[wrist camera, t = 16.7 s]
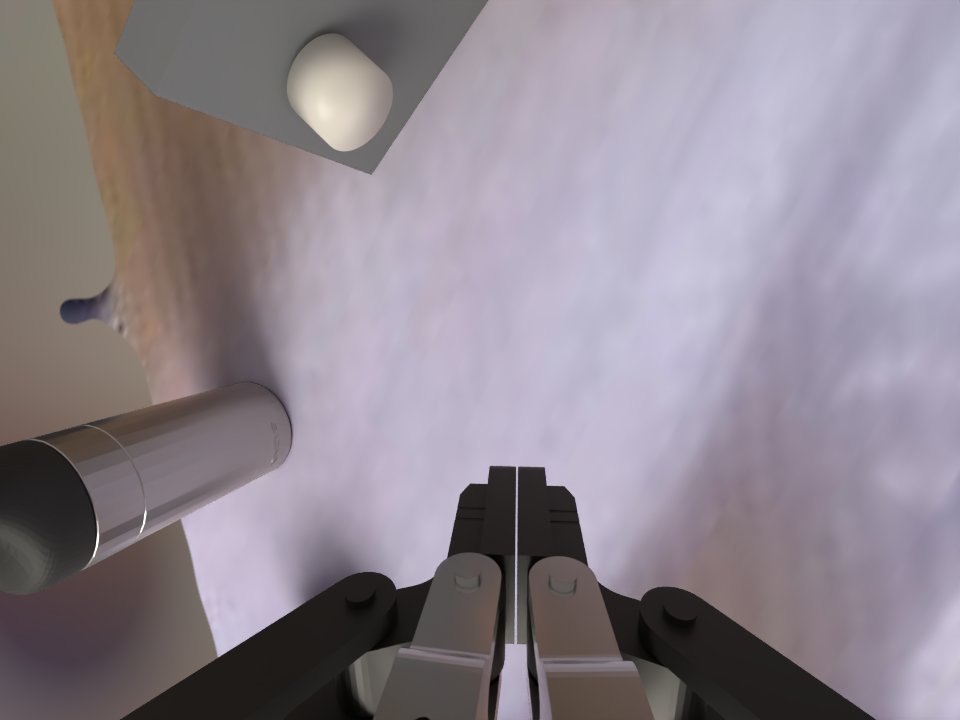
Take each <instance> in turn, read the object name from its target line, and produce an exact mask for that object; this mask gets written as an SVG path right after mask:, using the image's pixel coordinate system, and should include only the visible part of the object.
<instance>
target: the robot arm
mask: <svg viewBox="0 0 960 720" xmlns="http://www.w3.org/2000/svg"><path fill="white" fill-rule="evenodd" d="M290 445H291V428H290V423H289V419H288V417H287V414H286V412H285V410H284V408H283V406H282V405H281V403H280V402H279V400H278V399H277V398H276V397H275V396H274V395H273V394H272V393H271V392H270V391H268V390H267V389H266V388H264V387H262V386H260V385H258V384H255V383H250V382H241V383H238V384H234V385H230V386H226V387H222V388H219V389H215V390H211V391H207V392H203V393H199V394H195V395H191V396H188V397H184V398H180V399H176V400H173V401H169V402H165V403H161V404H157V405H154V406H150V407H146V408H143V409H139V410H135V411H131V412H127V413H124V414H120V415H116V416H112V417H108V418H105V419H101V420H97V421H93V422H90V423H86V424H82V425H79V426H75V427H71V428H68V429H64V430H61V431H57V432H52V433H49V434H45V435H41V436H37V437H34V438H30V439H26V440H23V441H18V442H15V443H11V444H7V445H4V446H0V590H3V591H5V592H8V593H12V594H20V595H24V594H31V593H35V592H39V591H41V590H44V589H46V588H48V587H51V586H53V585H55V584H57V583H59V582H60V581H62V580H64V579H66V578H68V577H70V576H72V575H74V574H76V573H78V572H79V571H82V570H84V569H86V568H87V567H89V566H91V565H93V564H95V563H97V562H99V561H101V560H103V559H105V558H107V557H108V556H110V555H112V554H114V553H116V552H118V551H120V550H122V549H124V548H126V547H127V546H129V545H131V544H133V543H135V542H137V541H139V540H141V539H142V538H144V537H146V536H148V535H150V534H152V533H154V532H156V531H158V530H160V529H162V528H163V527H165V526H167V525H169V524H171V523H173V522H175V521H177V520H179V519H181V518H183V517H185V516H186V515H188V514H190V513H192V512H194V511H196V510H198V509H200V508H202V507H204V506H206V505H207V504H209V503H211V502H213V501H215V500H217V499H219V498H221V497H223V496H225V495H227V494H228V493H230V492H232V491H234V490H236V489H238V488H240V487H242V486H244V485H246V484H248V483H250V482H251V481H253V480H255V479H257V478H259V477H261V476H263V475H265V474H266V473H268V472H270V471H272V470H274V469H276V468H278V467H279V466H280V465H281V464H282V463H283V462H284V460H285V459H286V457H287V455H288V453H289V450H290ZM515 514H516V467H511V466H490V469H489V477H488V484H469V485H468V487H467V488H466V489H465V490H464V491H463V492H462V493H461V494H460V498H459V503H458V510H457V513H456V519H455V522H454V527H453V532H452V537H451V542H450V547H449V552H448V556H447V559H446V560H444V561H443V562H442V563H441V564H440V565H439V566H438V568H437V570H436V572H435V575H434V577H433V578H432V579H430V580H428V581H426V582H424V583H422V584H419V585H415V586H411V587H406V588H401V589H397V590H396V587H395V585H394V583H393V582H392V580H391V579H390V578H388V577H387V576H385V575H383V574H380V573H376V572H363V573H357V574H354V575H351V576H348V577H346V578H344V579H343V580H341V581H339V582H338V583H336V584H334V585H333V586H331V587H330V588H328V589H327V590H325V591H323V592H322V593H320V594H319V595H317V596H315V597H314V598H312V599H311V600H309V601H307V602H306V603H304V604H303V605H301V606H300V607H298V608H296V609H295V610H293V611H292V612H290V613H288V614H287V615H285V616H284V617H282V618H281V619H279V620H277V621H276V622H274V623H273V624H271V625H269V626H268V627H266V628H265V629H263V630H261V631H260V632H258V633H257V634H255V635H254V636H252V637H250V638H249V639H247V640H246V641H244V642H242V643H241V644H239V645H238V646H236V647H234V648H233V649H231V650H230V651H228V652H227V653H225V654H223V655H222V656H220V657H219V658H217V659H215V660H214V661H213V662H211V663H209V664H208V665H206V666H204V667H203V668H201V669H200V670H198V671H197V672H195V673H193V674H192V675H190V676H188V677H187V678H186V679H184V680H182V681H181V682H179V683H177V684H176V685H174V686H173V687H171V688H169V689H168V690H166V691H165V692H163V693H162V694H160V695H159V696H157V697H155V698H154V699H152V700H151V701H149V702H147V703H146V704H144V705H142V706H141V707H139V708H138V709H136V710H135V711H133V712H131V713H130V714H128V715H127V716H125V717H123V718H122V719H120V720H497V714H498V705H499V696H500V688H501V670H502V668H503V665H504V660H505V643H508V644H514V618H515ZM517 644H527V690H528V700H529V711H530V720H876V719H874V718H873V717H871V716H870V715H869V714H867V713H866V712H864V711H863V710H861V709H860V708H858V707H857V706H856V705H854V704H853V703H851V702H850V701H848V700H847V699H845V698H844V697H843V696H841V695H840V694H838V693H837V692H835V691H834V690H832V689H831V688H830V687H828V686H827V685H825V684H824V683H822V682H821V681H820V680H818V679H817V678H815V677H814V676H812V675H811V674H809V673H808V672H807V671H805V670H804V669H802V668H801V667H799V666H798V665H796V664H795V663H794V662H792V661H791V660H789V659H788V658H786V657H785V656H783V655H782V654H781V653H779V652H778V651H776V650H775V649H773V648H772V647H770V646H769V645H768V644H766V643H765V642H763V641H762V640H760V639H759V638H757V637H756V636H755V635H753V634H752V633H750V632H749V631H747V630H746V629H744V628H743V627H742V626H740V625H739V624H737V623H736V622H734V621H733V620H731V619H730V618H729V617H727V616H726V615H724V614H723V613H721V612H720V611H719V610H717V609H716V608H714V607H713V606H711V605H710V604H708V603H707V602H706V601H704V600H703V599H701V598H700V597H698V596H696V595H695V594H693V593H691V592H688V591H686V590H683V589H679V588H675V587H657V588H654V589H651V590H649V591H648V592H646V593H645V594H644V596H643V597H642V599H641V601H639V600H636V599H632V598H629V597H626V596H623V595H620V594H617V593H615V592H613V591H611V590H609V589H607V588H606V587H604V586H603V585H601V584H600V583H599V582H598V581H597V579H596V576H595V574H594V573H593V571H592V570H591V569H590V568H589V567H588V563H587V558H586V553H585V548H584V543H583V538H582V533H581V528H580V525H579V518H578V514H577V507H576V502H575V498H574V497H573V496H572V494H571V493H570V492H569V491H568V490H567V489H566V488H565V486H547V484H546V475H545V467H518V542H517Z"/></svg>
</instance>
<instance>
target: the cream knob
mask: <svg viewBox="0 0 960 720" xmlns="http://www.w3.org/2000/svg"><path fill="white" fill-rule="evenodd" d="M287 96H288V100H289V103H290V105H291V107H292V108H293V110H294V111H295V112H296V113H297V114H298V115H299V116H300V117H301V118H302V119H303V120H304V121H305V122H306V123H307V124H308V125H309V126H310V127H311V128H312V129H313V130H314V131H315V132H316V133H317V134H318V135H319V136H320V137H321V138H322V139H324V140H325V141H326V142H327V143H328V144H329V145H330V146H331V147H332V148H333V149H335V150H338V151H351V150H354V149H357V148H359V147H361V146H362V145H364V144H365V143H367V142H368V141H369V140H370V139H372V138H373V137H374V136H375V135H376V133H377V132H378V131H379V130H380V128H381V127H382V125H383V124H384V122H385V120H386V118H387V116H388V114H389V111H390V108H391V105H392V100H393V88H392V83H391V81H390V79H389V77H388V76H387V75H386V74H385V73H384V72H383V71H382V70H381V69H380V68H379V67H378V66H377V65H376V64H375V63H374V62H373V61H371V60H370V59H369V58H368V57H367V56H366V55H365V54H364V53H363V52H362V51H361V50H360V49H359V48H357V47H356V46H355V45H354V44H353V43H352V42H351V41H350V40H349V39H348V38H346V37H345V36H343V35H340V34H336V33H330V34H324V35H321V36H319V37H317V38H315V39H313V40H312V41H310V42H309V43H308V44H307V45H306V46H305V47H304V48H303V49H302V50H301V51H300V52H299V54H298V55H297V57H296V58H295V60H294V62H293V64H292V66H291V69H290V71H289V75H288V80H287Z"/></svg>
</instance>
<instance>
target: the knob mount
mask: <svg viewBox="0 0 960 720" xmlns="http://www.w3.org/2000/svg"><path fill="white" fill-rule="evenodd" d="M487 1H488V0H135V1H134V4H133V6H132V9H131V11H130V14H129V16H128V19H127V21H126V24H125V26H124V29H123V31H122V34H121V36H120V39H119V41H118V44H117V46H116V49H115V51H114V54H115V55H116V56H117V57H118V58H119V59H120V60H121V61H122V62H123V63H124V64H125V65H126V67H127V68H128V69H129V70H130V71H131V72H132V73H133V74H134V75H135V76H136V77H137V78H138V79H139V80H140V81H141V82H142V83H143V84H144V85H145V86H146V87H147V88H148V89H149V90H150V91H151V92H152V93H153V94H154V95H155V96H158V97H161V98H164V99H166V100H169V101H172V102H174V103H177V104H180V105H183V106H185V107H188V108H191V109H194V110H196V111H199V112H202V113H204V114H207V115H210V116H213V117H215V118H218V119H221V120H224V121H226V122H229V123H232V124H234V125H237V126H240V127H243V128H245V129H248V130H251V131H253V132H256V133H259V134H262V135H264V136H267V137H270V138H273V139H275V140H278V141H281V142H283V143H286V144H289V145H292V146H294V147H297V148H300V149H303V150H305V151H308V152H311V153H313V154H316V155H319V156H322V157H324V158H327V159H330V160H333V161H335V162H338V163H341V164H343V165H346V166H349V167H352V168H354V169H357V170H360V171H363V172H365V173H368V174H372V173H373V171H374V170H375V168H376V167H377V165H378V164H379V162H380V161H381V159H382V158H383V156H384V155H385V153H386V152H387V150H388V149H389V147H390V146H391V144H392V143H393V141H394V140H395V138H396V137H397V135H398V134H399V132H400V131H401V129H402V128H403V126H404V125H405V123H406V122H407V120H408V119H409V118H410V116H411V115H412V113H413V112H414V110H415V109H416V107H417V106H418V104H419V103H420V101H421V100H422V98H423V97H424V95H425V94H426V92H427V91H428V89H429V88H430V86H431V85H432V83H433V82H434V80H435V79H436V77H437V76H438V74H439V73H440V71H441V70H442V68H443V67H444V65H445V64H446V62H447V61H448V59H449V58H450V56H451V55H452V53H453V52H454V50H455V49H456V47H457V46H458V44H459V43H460V41H461V40H462V38H463V37H464V35H465V34H466V32H467V31H468V29H469V28H470V26H471V25H472V23H473V22H474V20H475V19H476V17H477V16H478V14H479V13H480V11H481V10H482V8H483V7H484V5H485V4H486V2H487ZM330 33H336V34H340V35H343V36H345V37H346V38H348V39H349V40H350V41H351V42H352V43H353V44H354V45H355V46H356V47H357V48H359V49H360V50H361V51H362V52H363V53H364V54H365V55H366V56H367V57H368V58H369V59H370V60H371V61H373V62H374V63H375V64H376V65H377V66H378V67H379V68H380V69H381V70H382V71H383V72H384V73H385V74H386V75H387V76H388V77H389V79H390V81H391V83H392V88H393V100H392V105H391V108H390V111H389V114H388V116H387V118H386V120H385V122H384V124H383V125H382V127H381V128H380V130H379V131H378V132H377V133H376V135H375V136H374V137H373V138H372V139H370V140H369V141H368V142H367V143H365V144H364V145H362V146H361V147H359V148H357V149H354V150H351V151H338V150H335V149H333V148H332V147H331V146H330V145H329V144H328V143H327V142H326V141H325V140H324V139H322V138H321V137H320V136H319V135H318V134H317V133H316V132H315V131H314V130H313V129H312V128H311V127H310V126H309V125H308V124H307V123H306V122H305V121H304V120H303V119H302V118H301V117H300V116H299V115H298V114H297V113H296V112H295V111H294V110H293V108H292V107H291V105H290V103H289V100H288V96H287V80H288V75H289V71H290V69H291V66H292V64H293V62H294V60H295V58H296V57H297V55H298V54H299V52H300V51H301V50H302V49H303V48H304V47H305V46H306V45H307V44H308V43H309V42H310V41H312V40H313V39H315V38H317V37H319V36H321V35H324V34H330Z"/></svg>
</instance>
